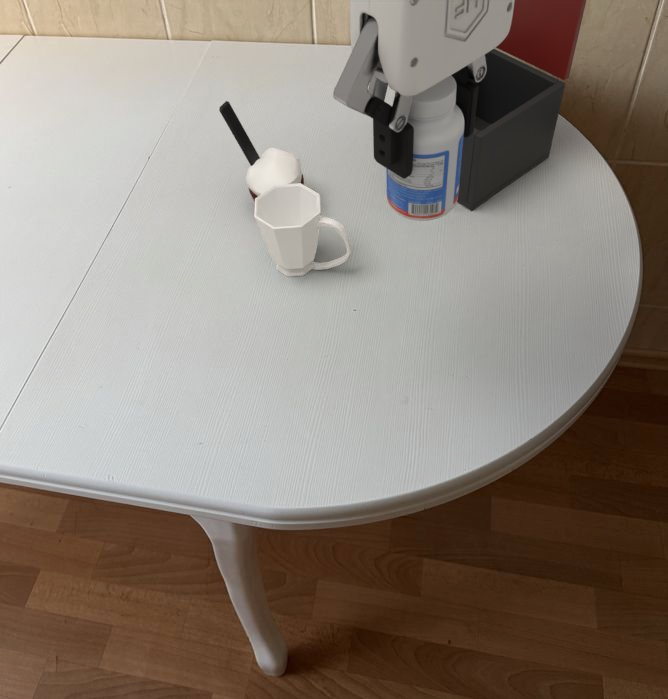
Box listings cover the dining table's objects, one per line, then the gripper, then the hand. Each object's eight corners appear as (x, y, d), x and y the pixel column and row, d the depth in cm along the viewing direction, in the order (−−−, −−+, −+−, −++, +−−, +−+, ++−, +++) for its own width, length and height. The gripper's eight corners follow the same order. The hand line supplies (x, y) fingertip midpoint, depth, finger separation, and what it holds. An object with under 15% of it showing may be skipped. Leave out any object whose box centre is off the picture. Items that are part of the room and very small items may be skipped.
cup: (277, 234, 79) (268, 176, 72) (362, 252, 76) (360, 194, 70) (252, 278, 75) (240, 221, 68) (340, 299, 72) (336, 242, 66)
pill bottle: (417, 167, 56) (422, 51, 48) (472, 196, 53) (486, 79, 46) (371, 202, 54) (368, 86, 46) (425, 234, 51) (432, 118, 43)
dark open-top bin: (471, 211, 79) (481, 137, 71) (393, 161, 85) (394, 88, 77) (548, 157, 84) (565, 83, 76) (470, 113, 90) (478, 40, 82)
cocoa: (323, 212, 80) (315, 121, 71) (278, 238, 78) (264, 148, 69) (275, 172, 85) (261, 83, 76) (232, 195, 83) (212, 106, 73)
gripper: (366, -75, 30) (373, 234, 45) (603, -185, 37) (543, 116, 51) (259, -117, 34) (297, 181, 48) (492, -210, 40) (465, 77, 55)
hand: (424, 145), depth 50 cm, fingers closed on pill bottle, 5 cm apart
